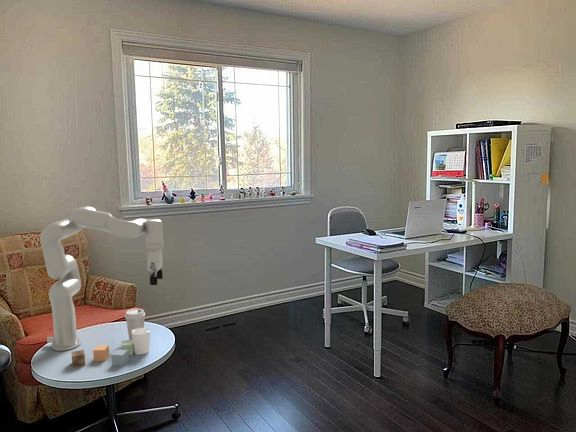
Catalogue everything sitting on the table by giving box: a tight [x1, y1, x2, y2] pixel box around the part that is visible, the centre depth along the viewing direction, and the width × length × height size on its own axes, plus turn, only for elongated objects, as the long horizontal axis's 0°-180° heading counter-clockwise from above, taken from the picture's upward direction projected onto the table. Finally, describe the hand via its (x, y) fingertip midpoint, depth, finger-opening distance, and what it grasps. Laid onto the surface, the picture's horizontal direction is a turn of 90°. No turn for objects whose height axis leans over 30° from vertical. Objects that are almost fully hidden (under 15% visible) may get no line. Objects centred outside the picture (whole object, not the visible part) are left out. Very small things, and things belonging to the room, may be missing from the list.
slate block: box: [110, 349, 129, 367], centre depth 197 cm, size 5×5×5 cm
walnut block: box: [71, 349, 86, 368], centre depth 196 cm, size 5×5×5 cm
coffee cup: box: [124, 308, 146, 340], centre depth 219 cm, size 10×10×15 cm
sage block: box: [120, 340, 135, 356], centre depth 207 cm, size 5×5×5 cm
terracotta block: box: [92, 344, 110, 362], centre depth 201 cm, size 5×5×5 cm
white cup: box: [132, 327, 151, 356], centre depth 207 cm, size 8×8×10 cm
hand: (156, 281), depth 212 cm, fingers open, 9 cm apart
